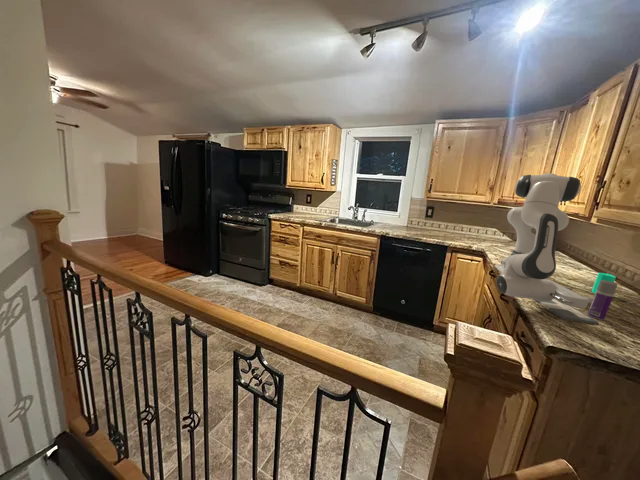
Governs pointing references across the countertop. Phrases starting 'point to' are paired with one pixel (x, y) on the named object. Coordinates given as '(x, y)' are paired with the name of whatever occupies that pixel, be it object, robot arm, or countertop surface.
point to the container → (602, 299)
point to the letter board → (566, 311)
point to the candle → (602, 277)
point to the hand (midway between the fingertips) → (580, 294)
